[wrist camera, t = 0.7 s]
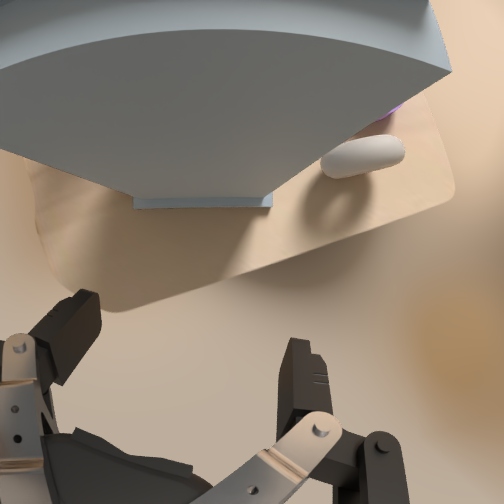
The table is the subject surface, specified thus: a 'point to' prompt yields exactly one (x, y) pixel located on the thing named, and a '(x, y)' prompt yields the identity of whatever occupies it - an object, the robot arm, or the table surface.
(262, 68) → the pale blue pedestal
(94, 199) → the table surface
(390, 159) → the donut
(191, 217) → the table surface
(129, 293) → the table surface
